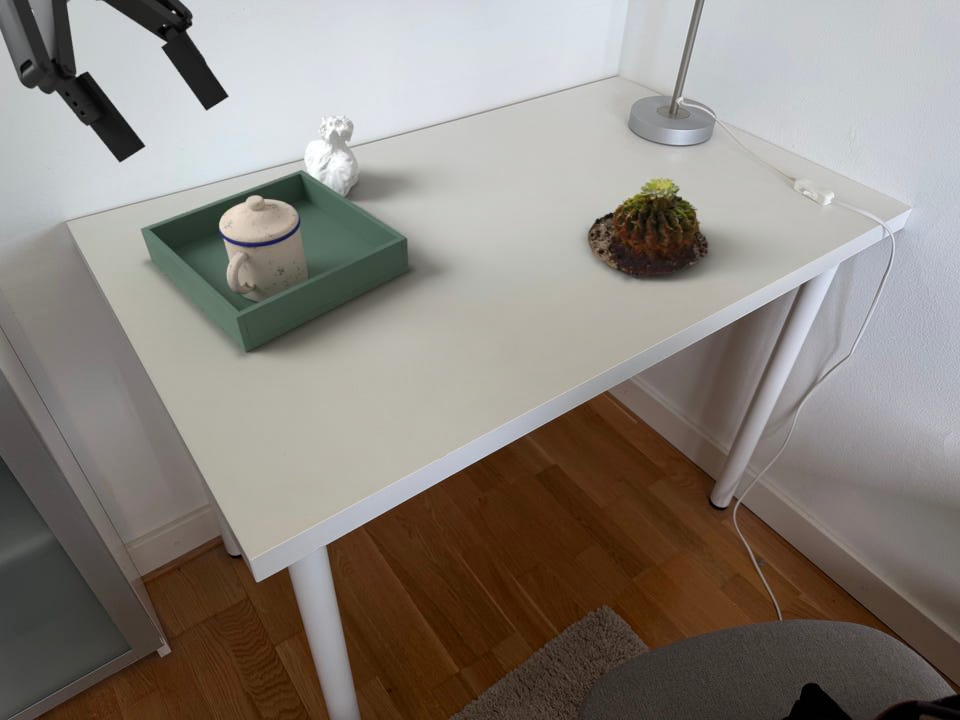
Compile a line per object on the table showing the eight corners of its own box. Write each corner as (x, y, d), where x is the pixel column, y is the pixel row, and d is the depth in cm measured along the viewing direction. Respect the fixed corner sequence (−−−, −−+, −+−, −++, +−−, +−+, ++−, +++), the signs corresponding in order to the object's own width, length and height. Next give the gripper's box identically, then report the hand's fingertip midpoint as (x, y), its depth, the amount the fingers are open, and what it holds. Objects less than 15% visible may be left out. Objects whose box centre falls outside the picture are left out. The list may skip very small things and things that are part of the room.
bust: (361, 212, 104) (394, 143, 101) (322, 197, 97) (357, 123, 95) (318, 182, 110) (348, 116, 107) (279, 166, 104) (311, 96, 101)
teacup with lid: (259, 256, 89) (240, 173, 81) (323, 269, 87) (310, 186, 79) (206, 311, 80) (179, 225, 73) (276, 327, 79) (256, 241, 71)
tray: (245, 352, 77) (236, 318, 74) (152, 261, 89) (140, 228, 86) (408, 270, 89) (407, 237, 86) (306, 200, 101) (301, 169, 98)
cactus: (635, 202, 104) (648, 140, 97) (729, 245, 96) (750, 181, 89) (561, 245, 94) (570, 180, 88) (658, 297, 86) (676, 230, 80)
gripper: (73, -110, 64) (220, 102, 73) (-189, -84, 44) (58, 200, 54) (123, -159, 60) (271, 70, 70) (-136, -154, 41) (117, 162, 50)
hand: (179, 127), depth 62 cm, fingers open, 13 cm apart
